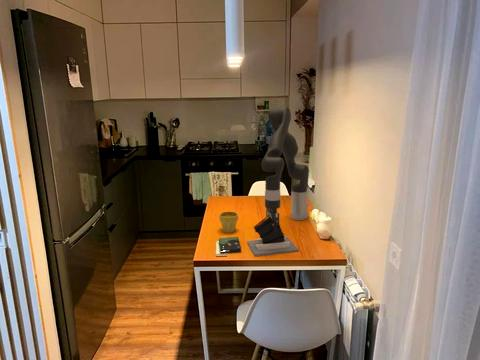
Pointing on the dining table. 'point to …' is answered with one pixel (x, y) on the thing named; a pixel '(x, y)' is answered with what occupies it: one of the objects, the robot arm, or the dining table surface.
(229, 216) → the plant pot
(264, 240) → the magazine
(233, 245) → the disk drive
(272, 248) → the rail board
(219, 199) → the dining table surface
